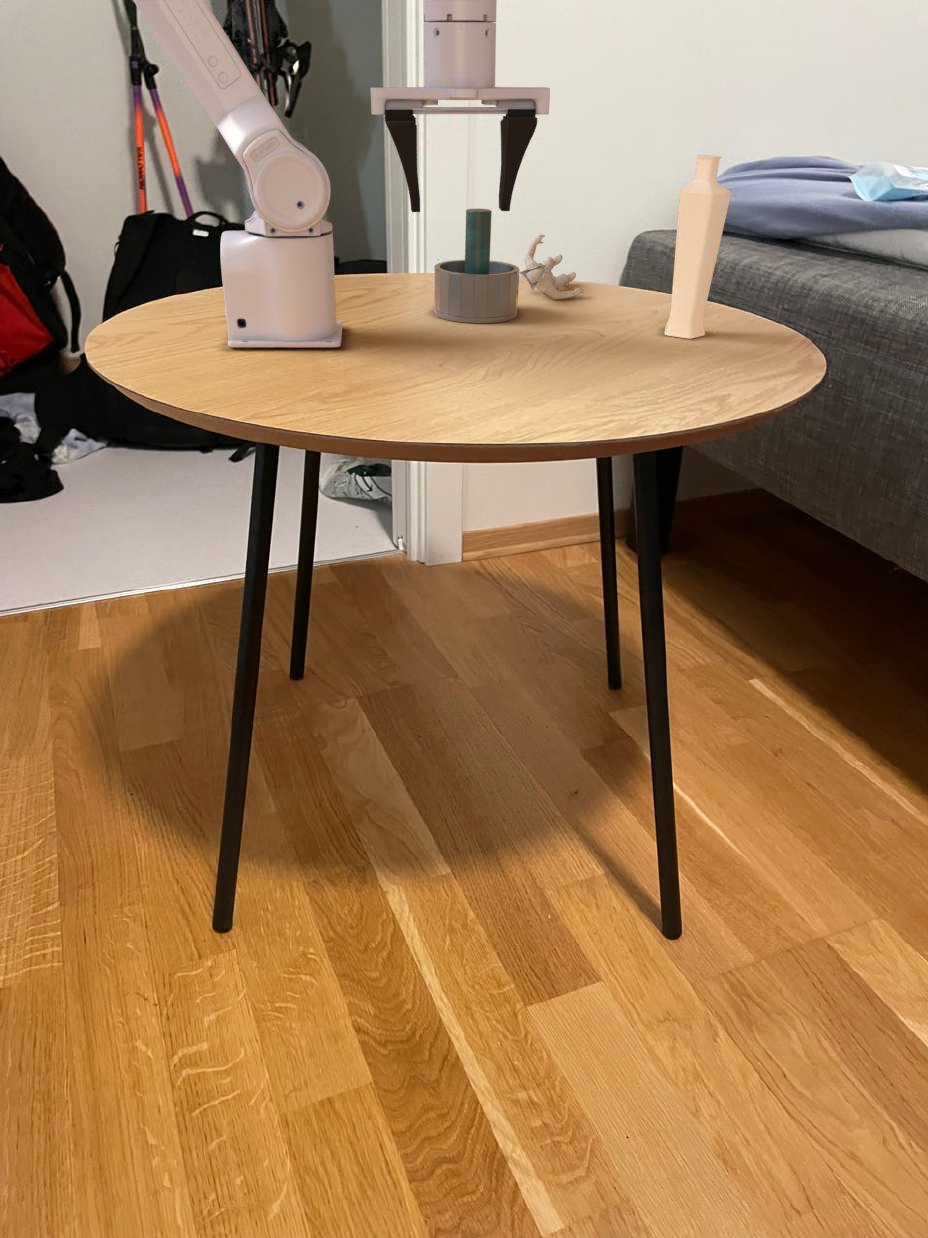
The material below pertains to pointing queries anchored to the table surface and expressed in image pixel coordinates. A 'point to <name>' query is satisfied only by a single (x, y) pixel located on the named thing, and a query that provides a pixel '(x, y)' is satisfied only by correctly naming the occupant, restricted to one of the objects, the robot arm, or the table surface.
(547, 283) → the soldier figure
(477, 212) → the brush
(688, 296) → the peach faceted vase
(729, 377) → the table surface
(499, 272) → the low gray pot
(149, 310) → the table surface
